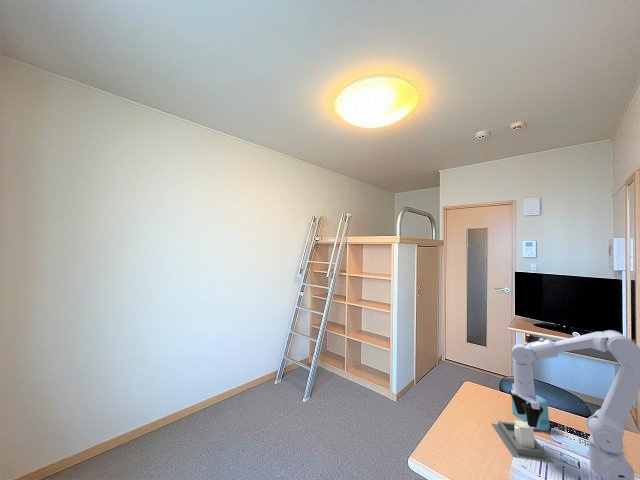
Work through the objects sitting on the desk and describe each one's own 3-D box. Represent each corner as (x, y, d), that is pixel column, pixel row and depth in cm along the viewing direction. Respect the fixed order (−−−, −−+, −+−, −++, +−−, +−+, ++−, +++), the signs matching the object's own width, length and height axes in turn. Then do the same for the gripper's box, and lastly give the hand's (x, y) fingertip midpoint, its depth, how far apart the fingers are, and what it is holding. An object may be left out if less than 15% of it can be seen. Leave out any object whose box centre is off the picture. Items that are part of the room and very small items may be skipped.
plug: (547, 455, 89) (545, 430, 90) (519, 451, 91) (517, 426, 92) (540, 447, 93) (538, 423, 94) (513, 443, 95) (512, 420, 96)
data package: (550, 432, 102) (547, 400, 103) (540, 434, 101) (538, 401, 102) (521, 415, 114) (519, 386, 115) (512, 416, 113) (510, 387, 114)
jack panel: (555, 466, 85) (554, 456, 86) (513, 460, 88) (512, 450, 89) (525, 430, 104) (524, 422, 104) (491, 425, 107) (490, 418, 107)
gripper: (502, 370, 102) (504, 407, 101) (521, 388, 88) (524, 431, 87) (523, 372, 101) (525, 409, 100) (545, 390, 87) (549, 434, 86)
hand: (526, 419), depth 93 cm, fingers open, 7 cm apart
